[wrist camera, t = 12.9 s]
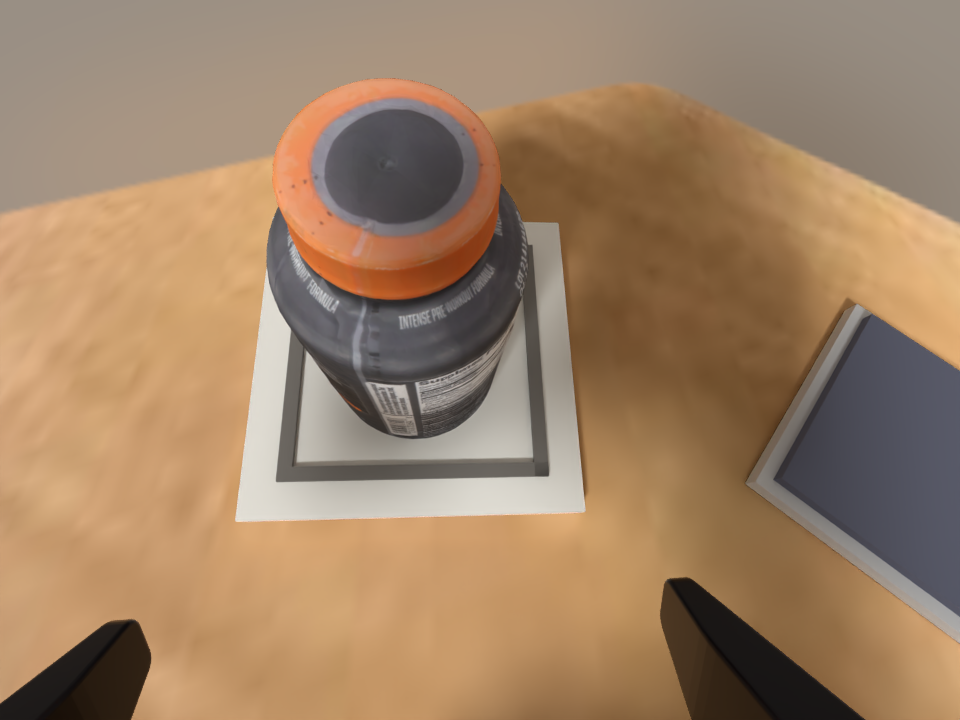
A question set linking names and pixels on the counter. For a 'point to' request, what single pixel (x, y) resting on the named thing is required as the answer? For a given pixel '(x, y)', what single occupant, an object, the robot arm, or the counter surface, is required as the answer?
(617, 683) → the counter surface
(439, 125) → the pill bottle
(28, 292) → the counter surface
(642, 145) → the counter surface
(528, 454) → the board
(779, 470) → the ink pad
